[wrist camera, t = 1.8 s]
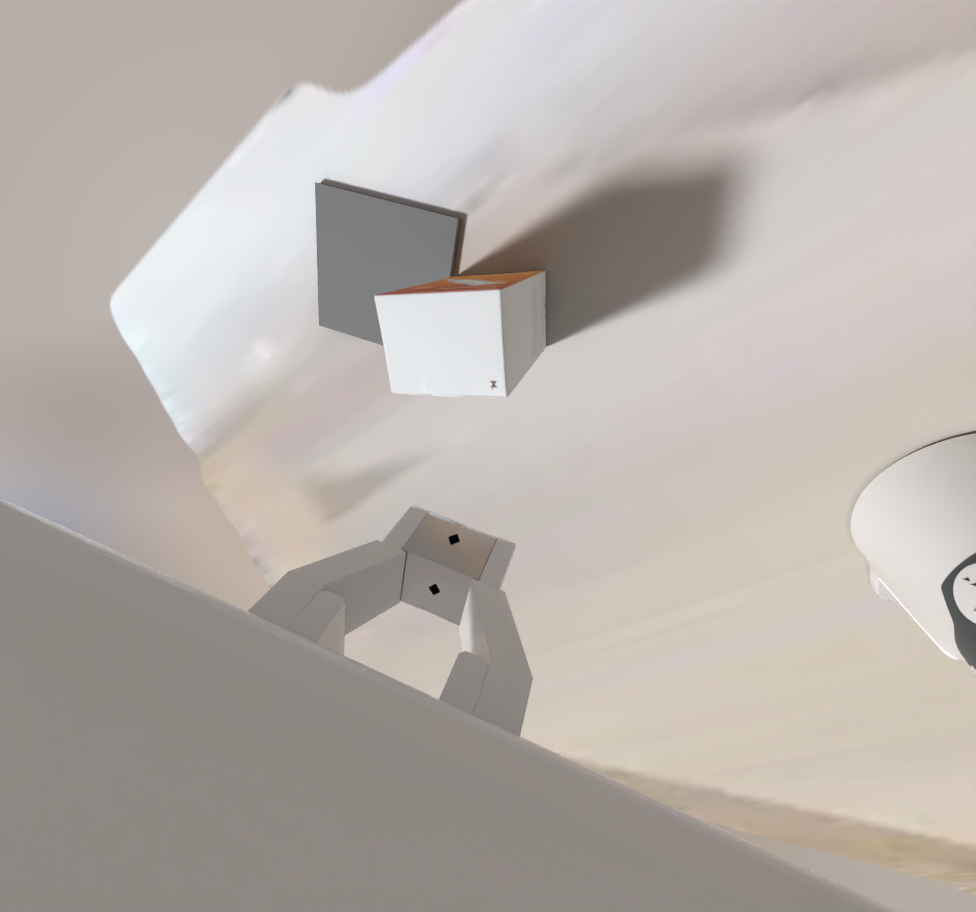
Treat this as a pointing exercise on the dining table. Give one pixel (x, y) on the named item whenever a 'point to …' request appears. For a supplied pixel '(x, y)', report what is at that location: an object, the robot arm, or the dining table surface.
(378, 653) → the dining table surface
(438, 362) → the small box
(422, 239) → the mat
